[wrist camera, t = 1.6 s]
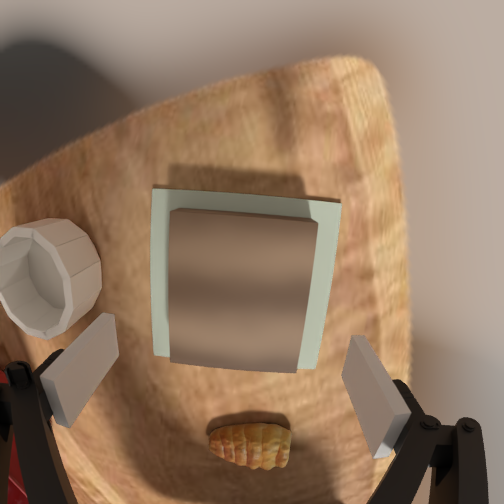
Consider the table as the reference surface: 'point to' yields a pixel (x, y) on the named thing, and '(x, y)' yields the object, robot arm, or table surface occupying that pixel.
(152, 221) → the mat
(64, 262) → the bowl
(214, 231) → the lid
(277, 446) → the pastry
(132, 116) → the table surface
